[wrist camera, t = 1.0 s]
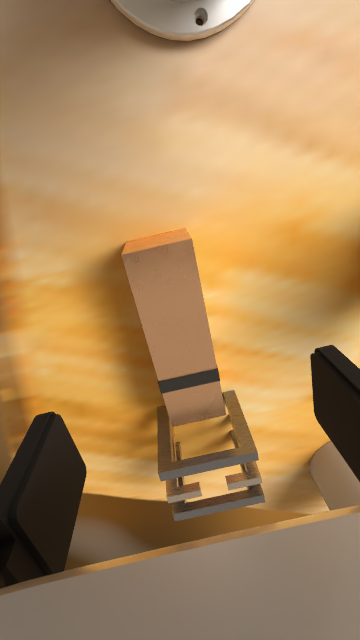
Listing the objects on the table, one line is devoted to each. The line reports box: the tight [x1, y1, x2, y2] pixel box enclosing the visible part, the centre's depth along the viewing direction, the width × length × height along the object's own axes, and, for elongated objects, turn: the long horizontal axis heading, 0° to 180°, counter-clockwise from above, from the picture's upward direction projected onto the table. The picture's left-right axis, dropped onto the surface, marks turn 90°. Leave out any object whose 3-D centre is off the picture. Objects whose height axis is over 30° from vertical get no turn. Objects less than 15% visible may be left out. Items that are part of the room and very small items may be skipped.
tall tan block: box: [121, 228, 226, 427], centre depth 27 cm, size 16×5×5 cm, turn 12°
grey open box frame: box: [157, 390, 265, 521], centre depth 31 cm, size 6×8×8 cm
